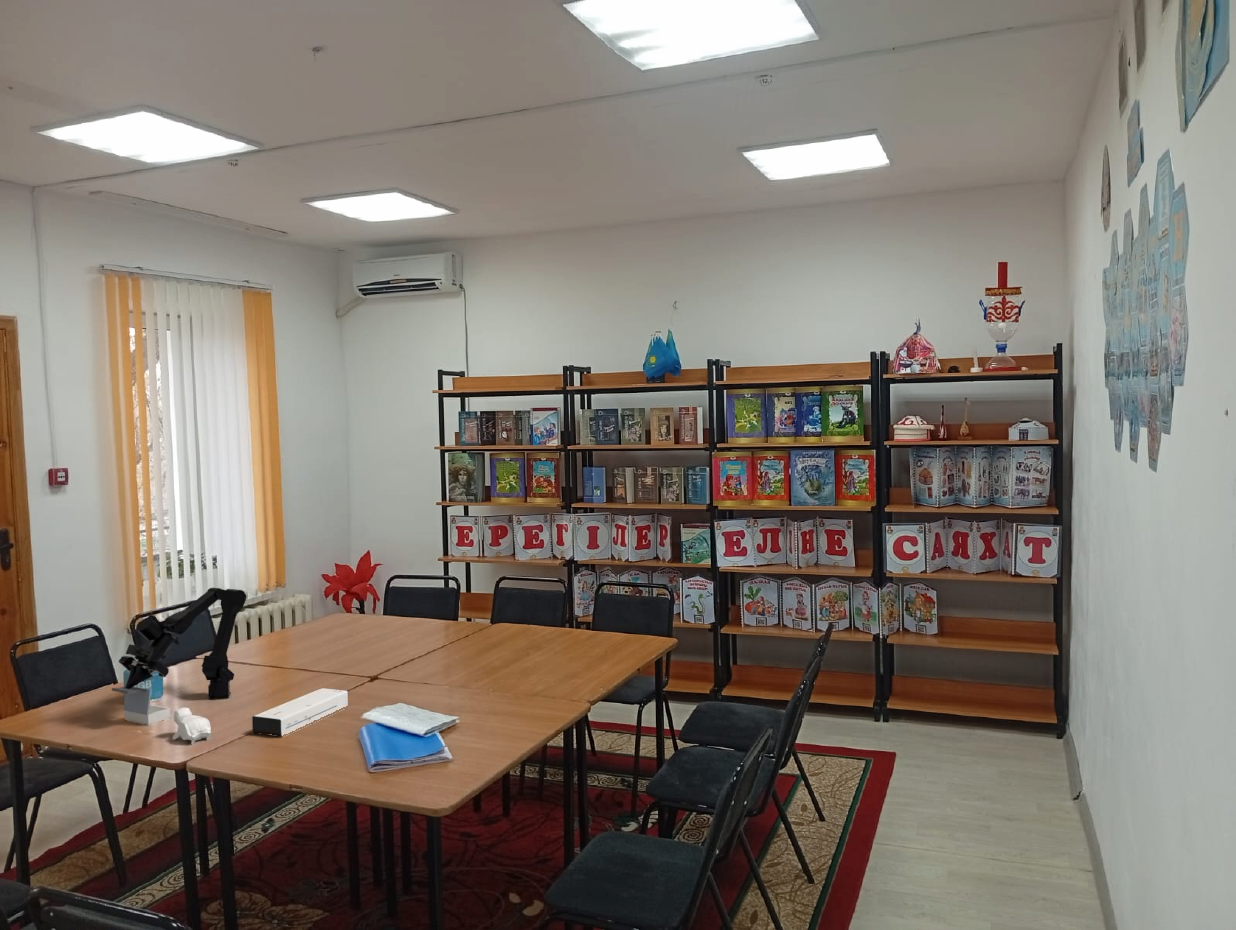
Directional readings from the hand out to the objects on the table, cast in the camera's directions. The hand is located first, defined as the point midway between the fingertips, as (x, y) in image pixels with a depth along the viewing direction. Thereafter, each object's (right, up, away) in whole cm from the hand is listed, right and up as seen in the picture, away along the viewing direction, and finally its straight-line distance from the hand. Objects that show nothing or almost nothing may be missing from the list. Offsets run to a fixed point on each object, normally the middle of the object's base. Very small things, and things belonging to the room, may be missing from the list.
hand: (127, 688), depth 298 cm
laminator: (+55, -13, +6) cm, 57 cm away
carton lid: (+2, -5, +4) cm, 6 cm away
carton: (+3, -12, +7) cm, 14 cm away
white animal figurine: (+26, -13, -12) cm, 32 cm away
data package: (-10, -12, +30) cm, 33 cm away
